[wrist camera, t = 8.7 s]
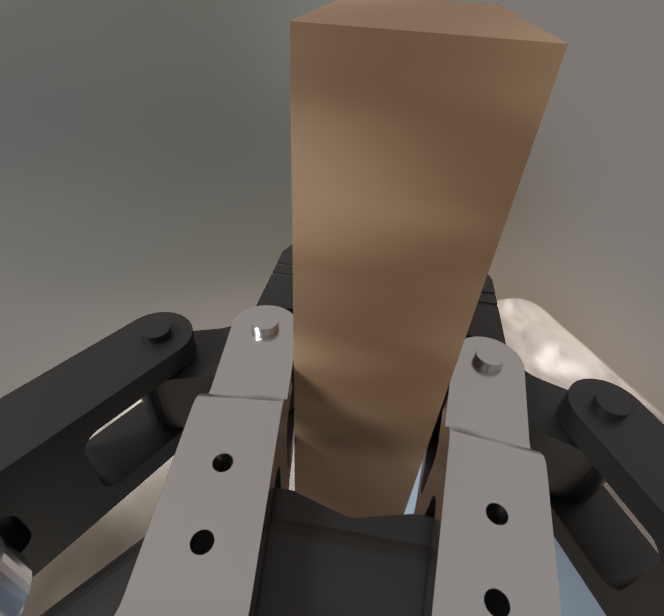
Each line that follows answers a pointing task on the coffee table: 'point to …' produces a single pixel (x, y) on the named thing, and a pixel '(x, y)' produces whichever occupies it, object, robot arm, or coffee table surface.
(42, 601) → the coffee table surface
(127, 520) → the coffee table surface
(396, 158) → the slat
